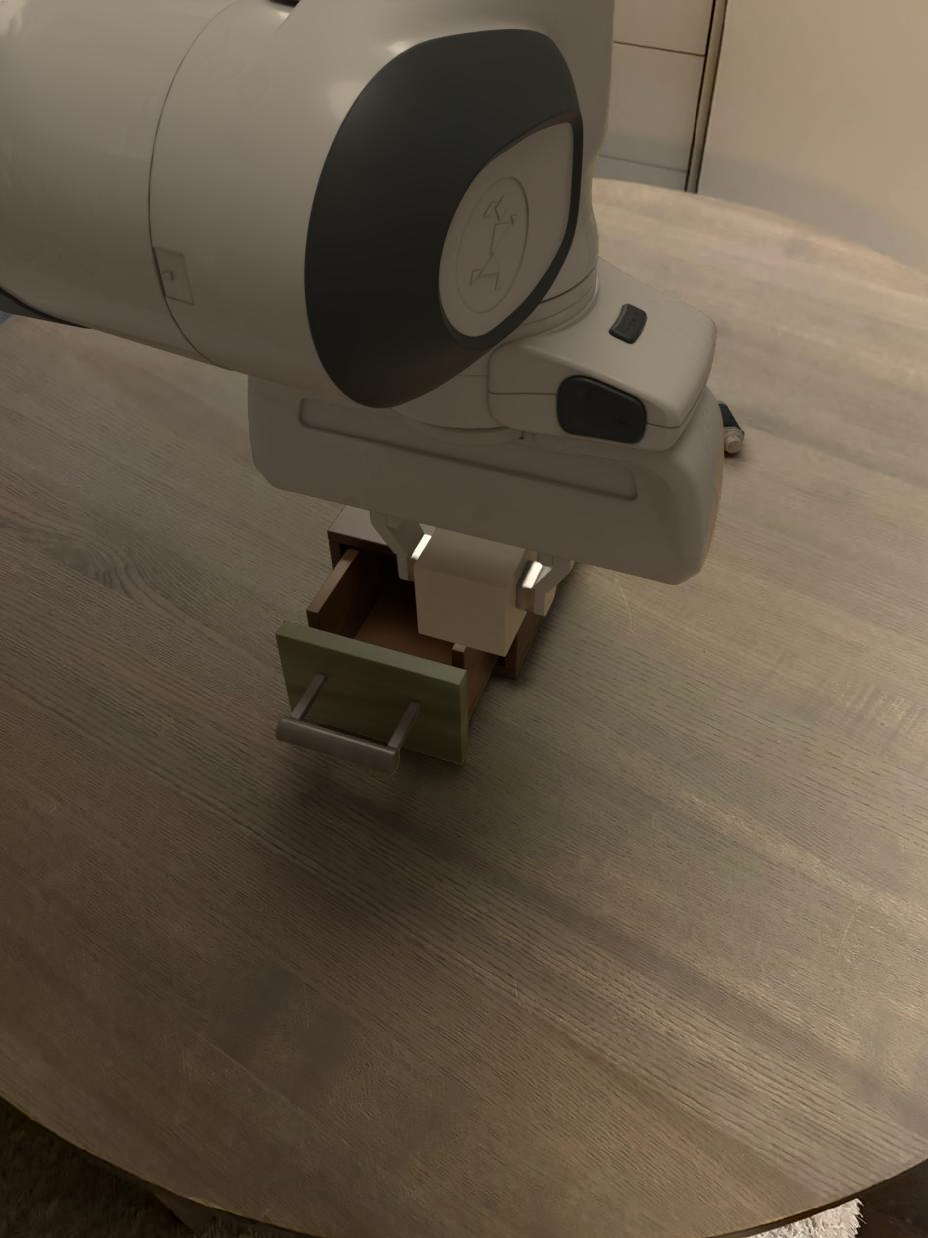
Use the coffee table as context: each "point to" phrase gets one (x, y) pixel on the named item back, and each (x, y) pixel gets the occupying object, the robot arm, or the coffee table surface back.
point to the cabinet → (360, 532)
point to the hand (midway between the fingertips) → (477, 588)
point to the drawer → (376, 671)
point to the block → (469, 590)
